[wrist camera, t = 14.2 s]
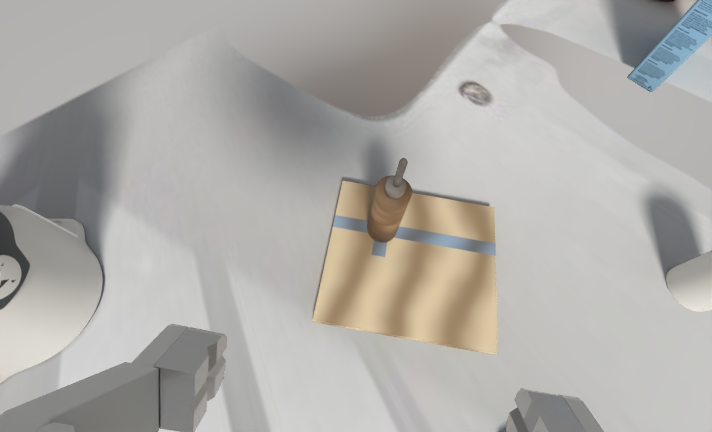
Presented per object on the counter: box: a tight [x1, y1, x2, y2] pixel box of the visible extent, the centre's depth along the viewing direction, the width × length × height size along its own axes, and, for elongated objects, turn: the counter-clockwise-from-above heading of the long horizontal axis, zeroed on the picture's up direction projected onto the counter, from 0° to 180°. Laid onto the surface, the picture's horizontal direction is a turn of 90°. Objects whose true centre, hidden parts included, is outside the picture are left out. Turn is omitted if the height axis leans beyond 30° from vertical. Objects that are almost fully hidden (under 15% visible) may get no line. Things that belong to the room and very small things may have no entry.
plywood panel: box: [313, 181, 498, 354], centre depth 42 cm, size 20×18×1 cm
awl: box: [367, 158, 412, 243], centre depth 37 cm, size 4×4×14 cm
